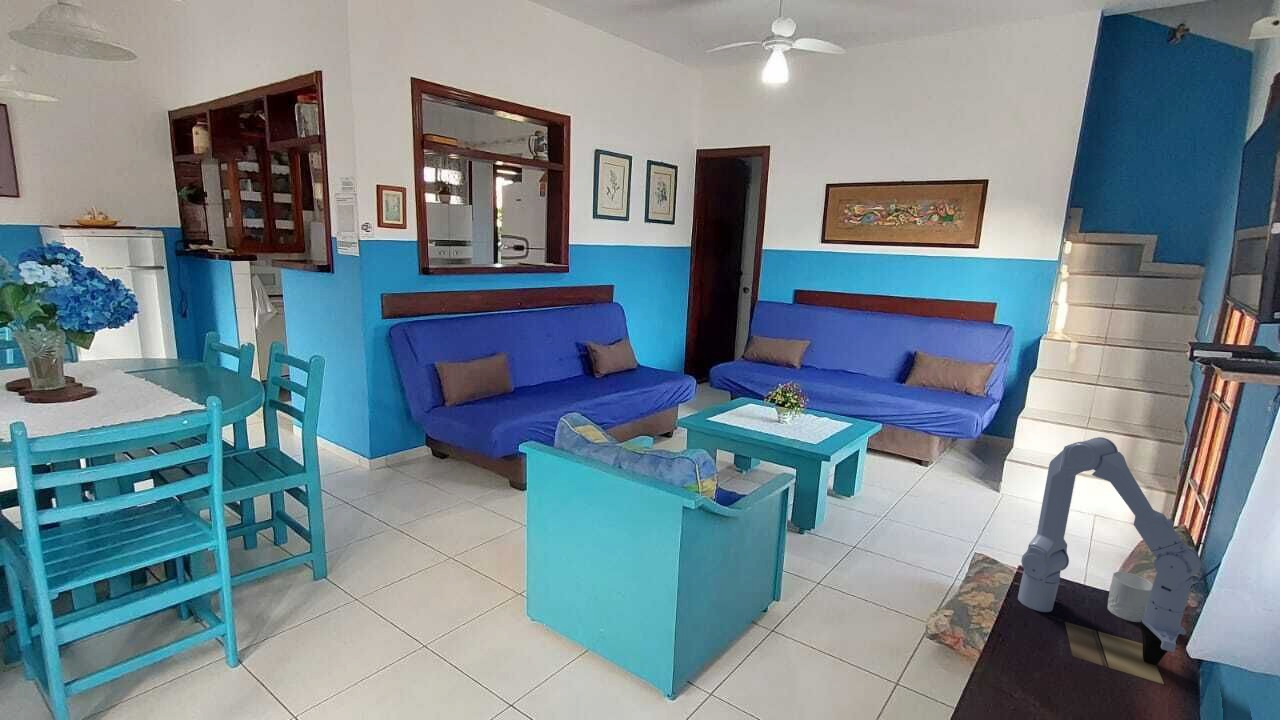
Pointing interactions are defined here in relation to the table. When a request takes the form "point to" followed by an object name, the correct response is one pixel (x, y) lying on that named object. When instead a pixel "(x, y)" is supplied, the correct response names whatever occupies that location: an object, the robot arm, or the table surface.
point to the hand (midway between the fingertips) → (1149, 662)
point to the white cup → (1129, 596)
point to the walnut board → (1085, 644)
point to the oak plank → (1128, 657)
